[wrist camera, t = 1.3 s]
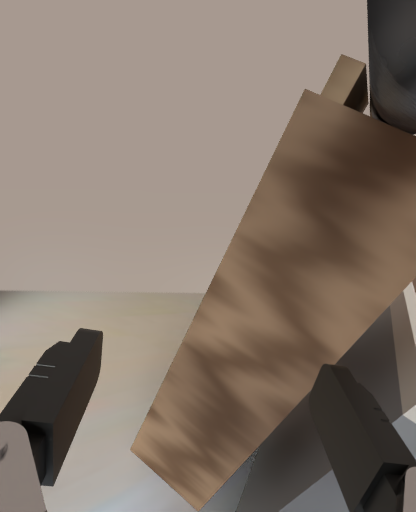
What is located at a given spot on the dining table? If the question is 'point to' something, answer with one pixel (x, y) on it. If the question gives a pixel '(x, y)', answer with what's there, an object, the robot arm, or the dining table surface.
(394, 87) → the black gold-banded rod
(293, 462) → the grey magazine holder
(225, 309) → the tall stand
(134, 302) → the dining table surface
